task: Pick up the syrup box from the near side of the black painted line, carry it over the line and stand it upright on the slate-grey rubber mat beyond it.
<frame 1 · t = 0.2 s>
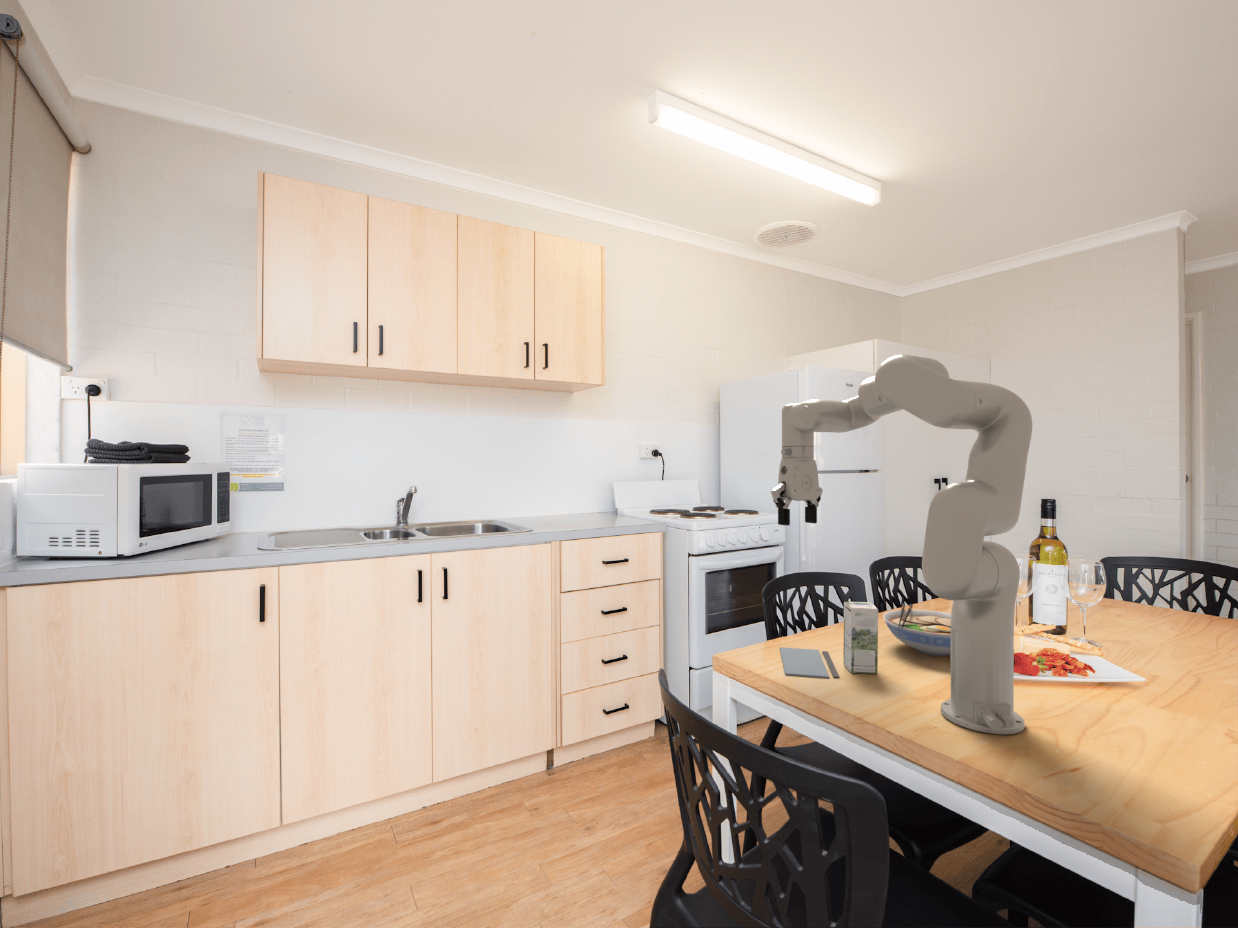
hand: (797, 523, 141), 31 cm above the table, tool pointing down, fingers open, 9 cm apart
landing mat: (802, 662, 132), on the table
syrup box: (860, 670, 127), on the table
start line: (830, 664, 131), on the table
ramen bowl: (933, 652, 140), on the table
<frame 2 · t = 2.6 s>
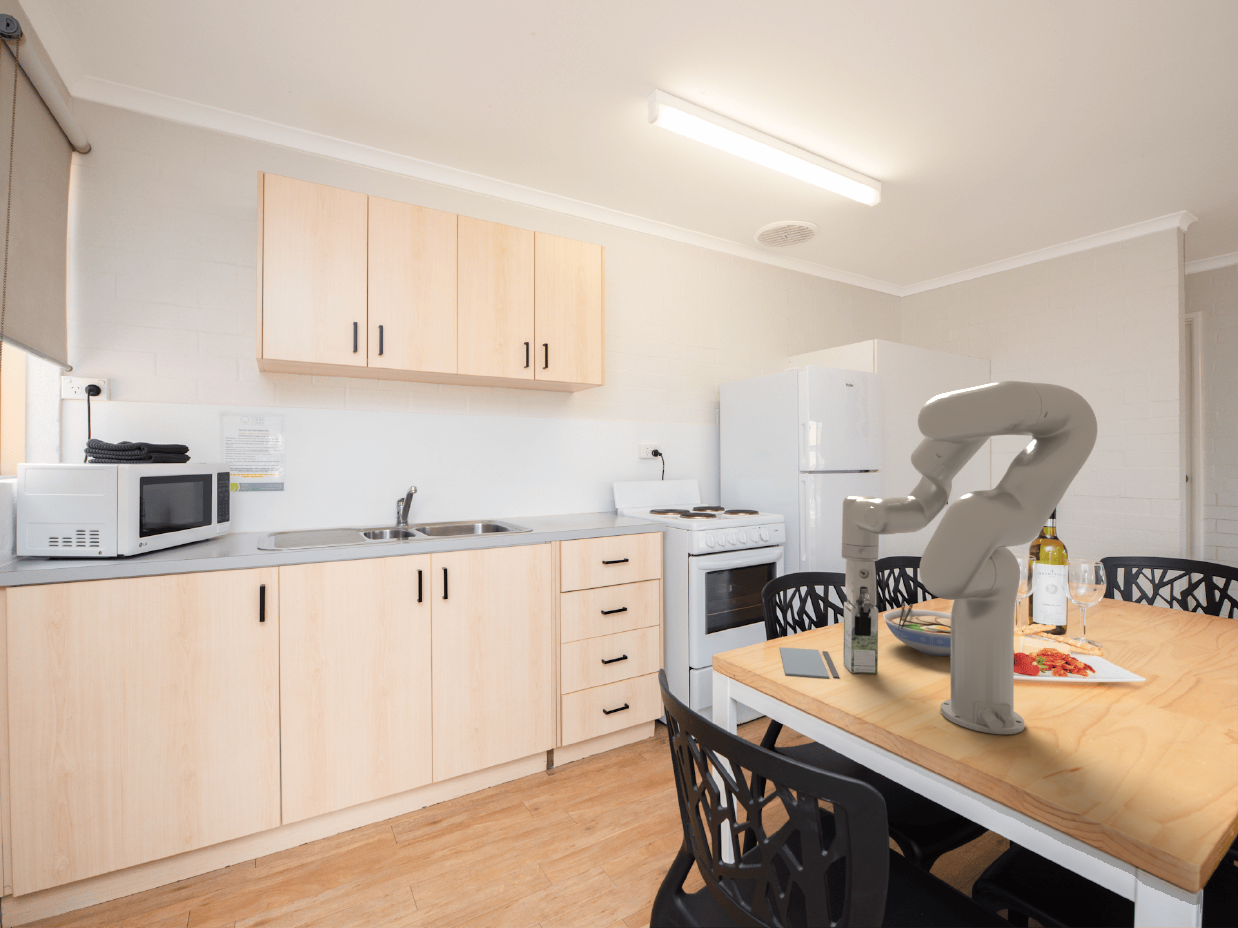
hand: (857, 628, 128), 9 cm above the table, tool pointing down, fingers open, 9 cm apart
nothing on the table moved.
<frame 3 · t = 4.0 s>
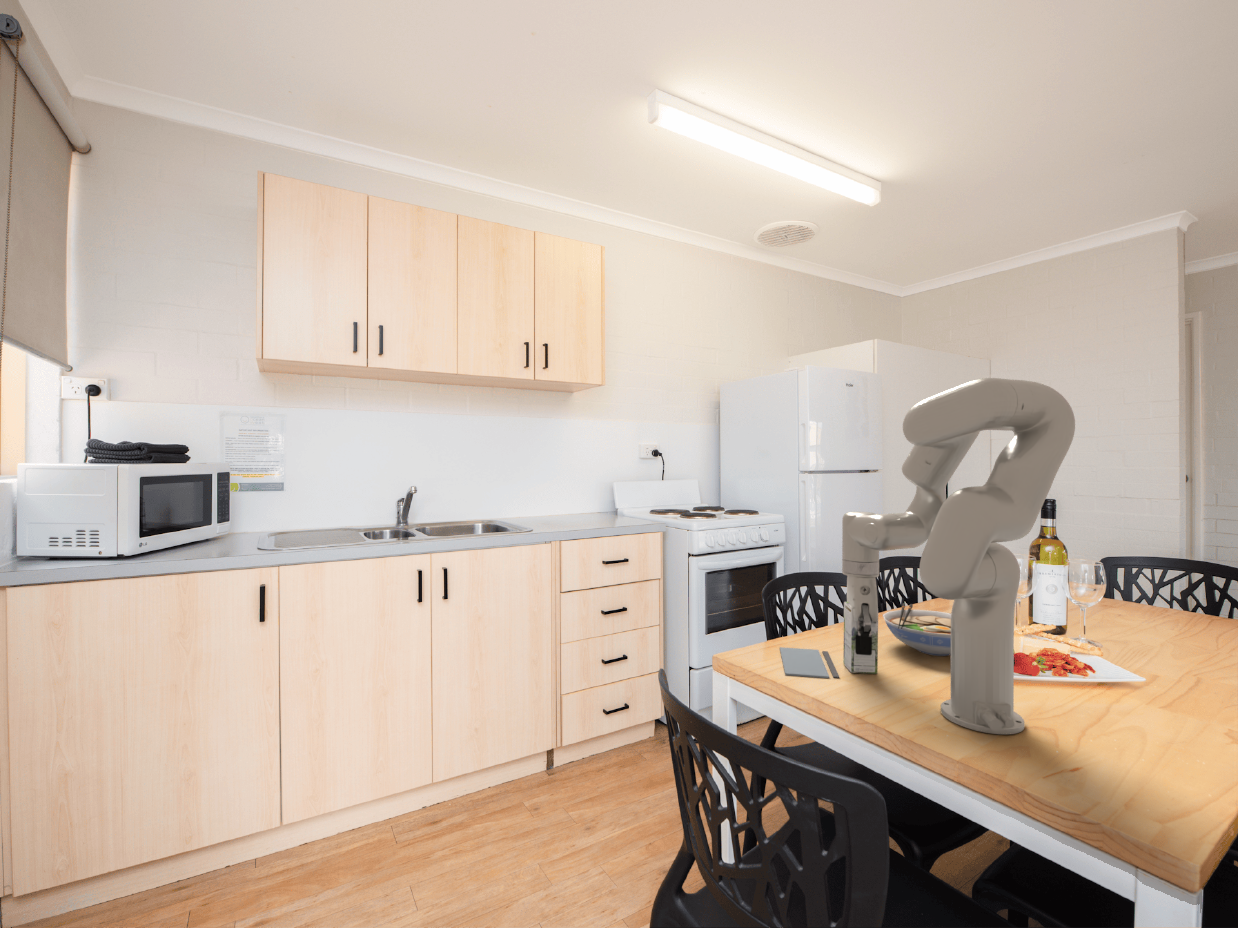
hand: (860, 648, 127), 5 cm above the table, tool pointing down, fingers closed on syrup box, 6 cm apart
syrup box: (860, 670, 127), on the table, touching gripper
everything else where it was.
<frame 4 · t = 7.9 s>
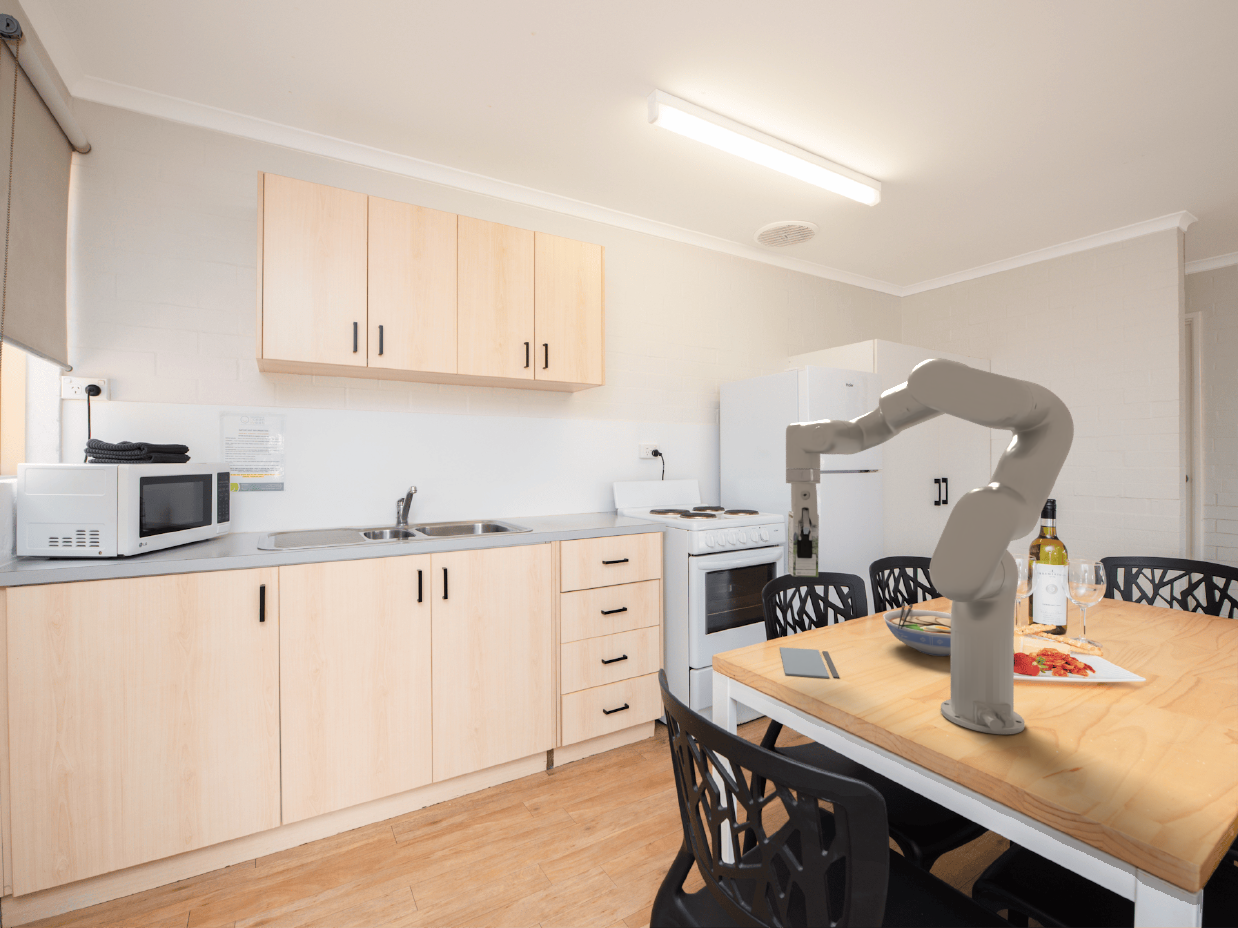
hand: (803, 554, 132), 25 cm above the table, tool pointing down, fingers closed on syrup box, 6 cm apart
syrup box: (803, 575, 132), point 20 cm above the table, touching gripper
everything else where it was.
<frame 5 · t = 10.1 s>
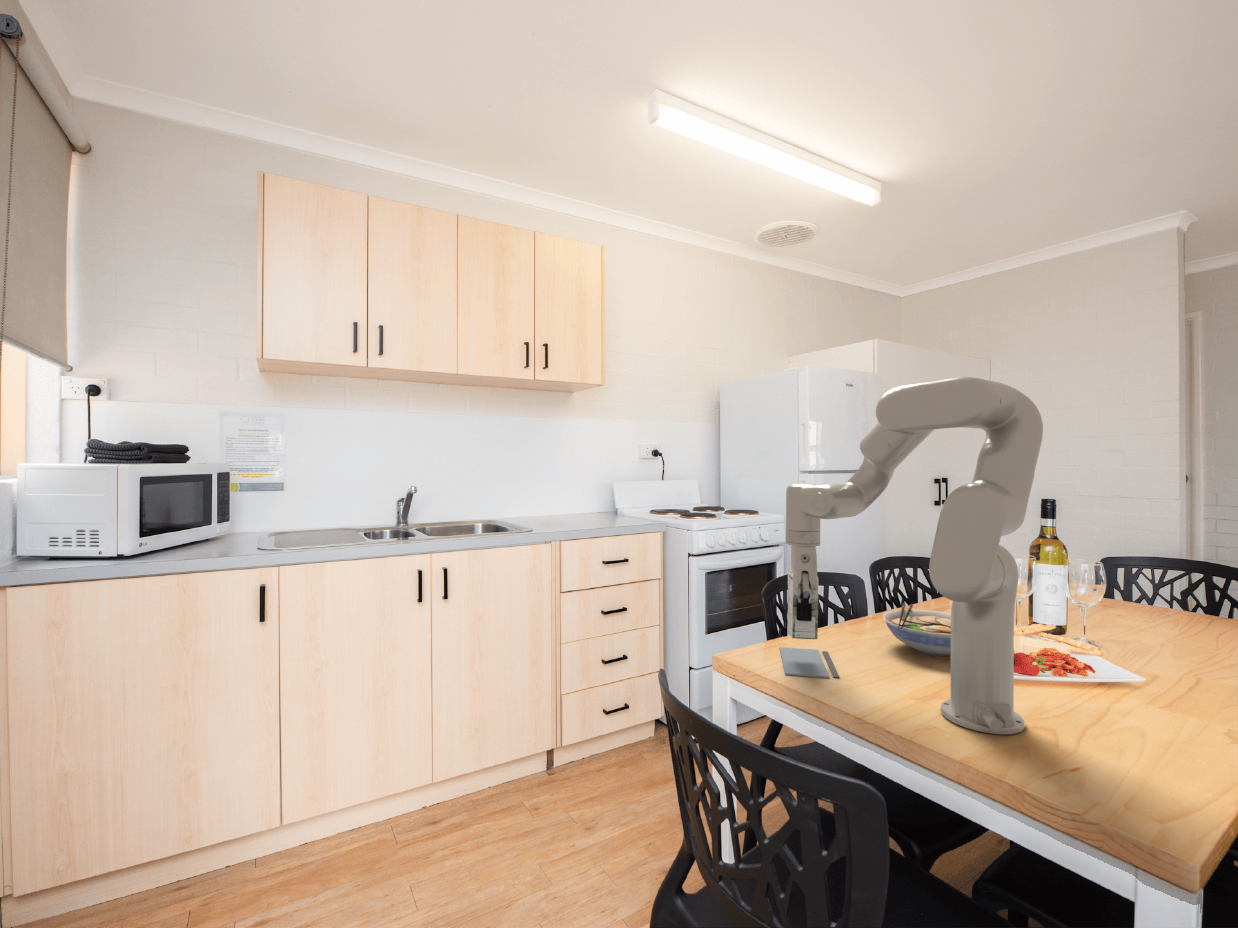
hand: (802, 615, 132), 11 cm above the table, tool pointing down, fingers closed on syrup box, 6 cm apart
syrup box: (802, 636, 132), point 6 cm above the table, touching gripper
everything else where it was.
when the fingers open (6 cm above the table, at t = 12.0 s): syrup box drops 1 cm, resting on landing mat.
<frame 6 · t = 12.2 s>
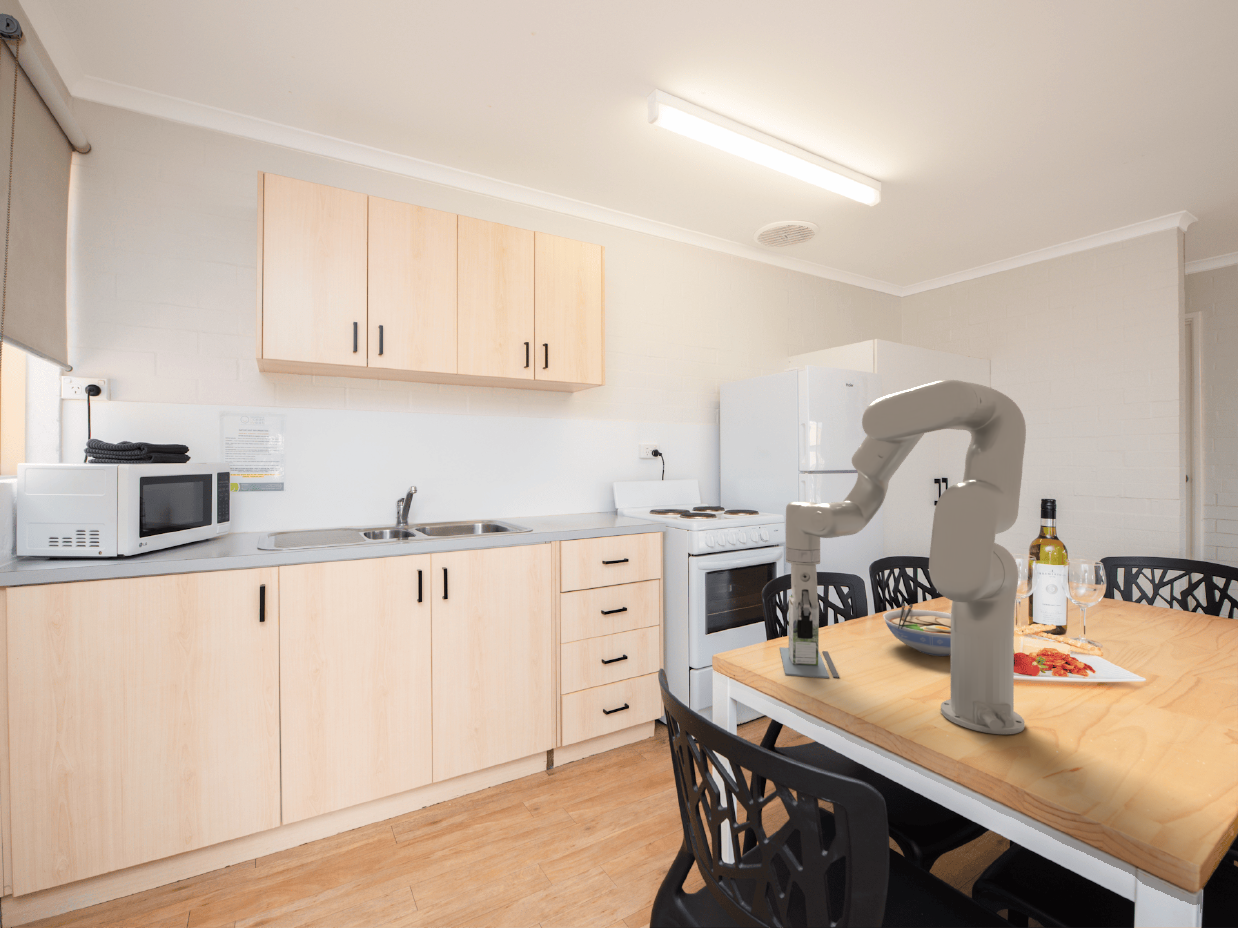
hand: (802, 632, 132), 7 cm above the table, tool pointing down, fingers open, 8 cm apart
syrup box: (803, 662, 131), resting on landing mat
everything else where it was.
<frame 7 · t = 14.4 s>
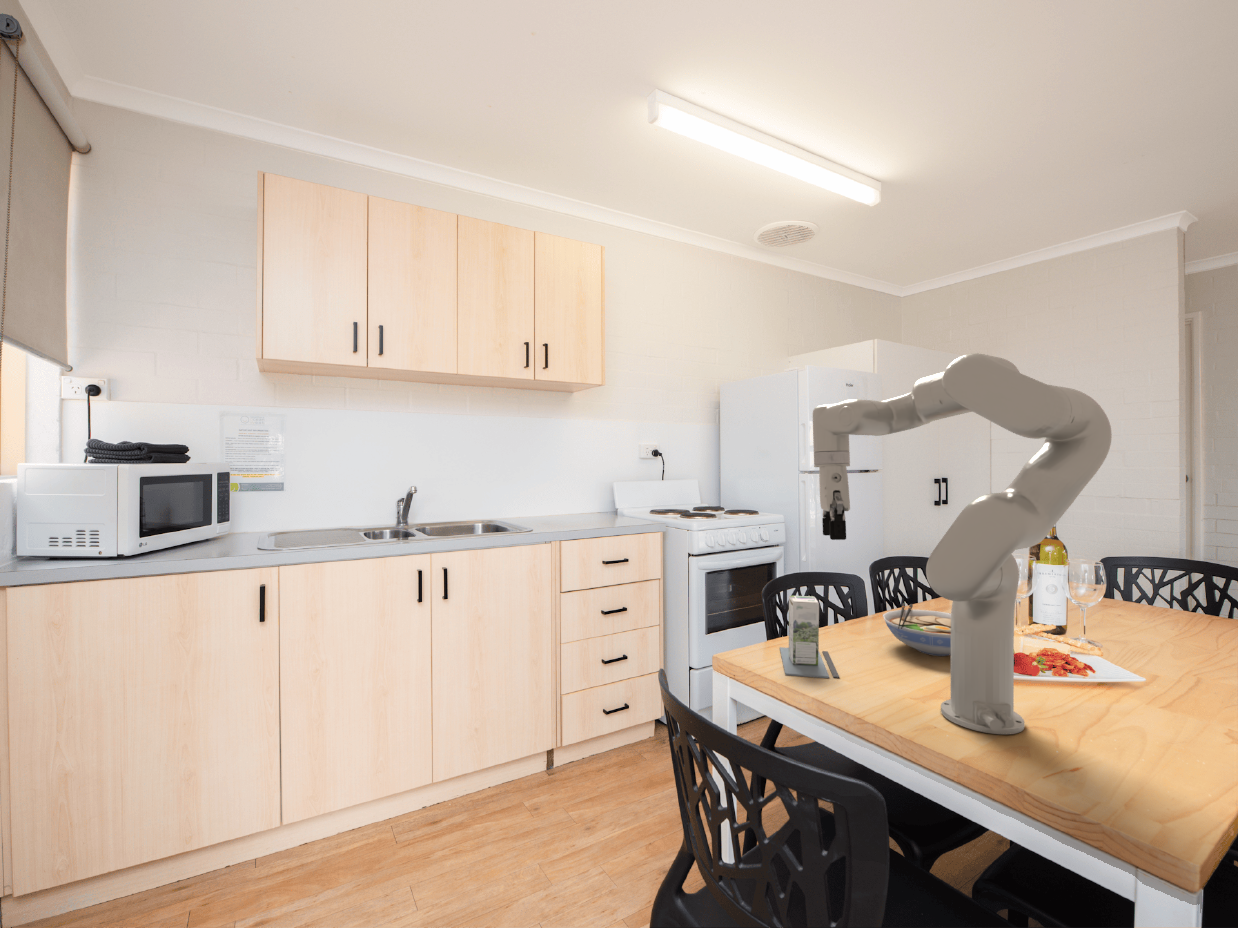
hand: (834, 537, 128), 29 cm above the table, tool pointing down, fingers open, 9 cm apart
nothing on the table moved.
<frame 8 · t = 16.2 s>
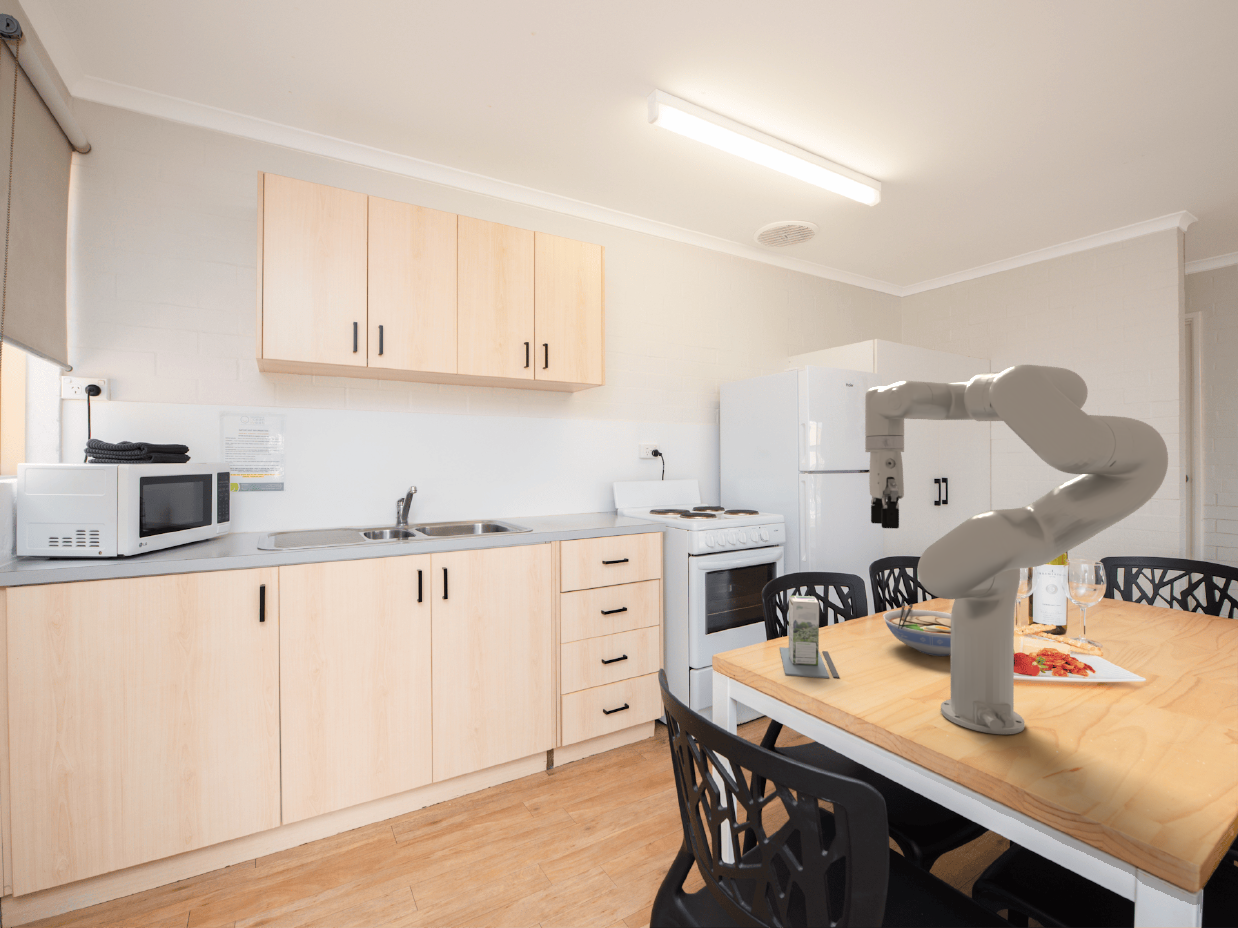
hand: (884, 525, 123), 32 cm above the table, tool pointing down, fingers open, 9 cm apart
nothing on the table moved.
at the end: syrup box inside the target area (0.9 cm from its centre), resting on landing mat; syrup box tilted 0°; the gripper is holding nothing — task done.
